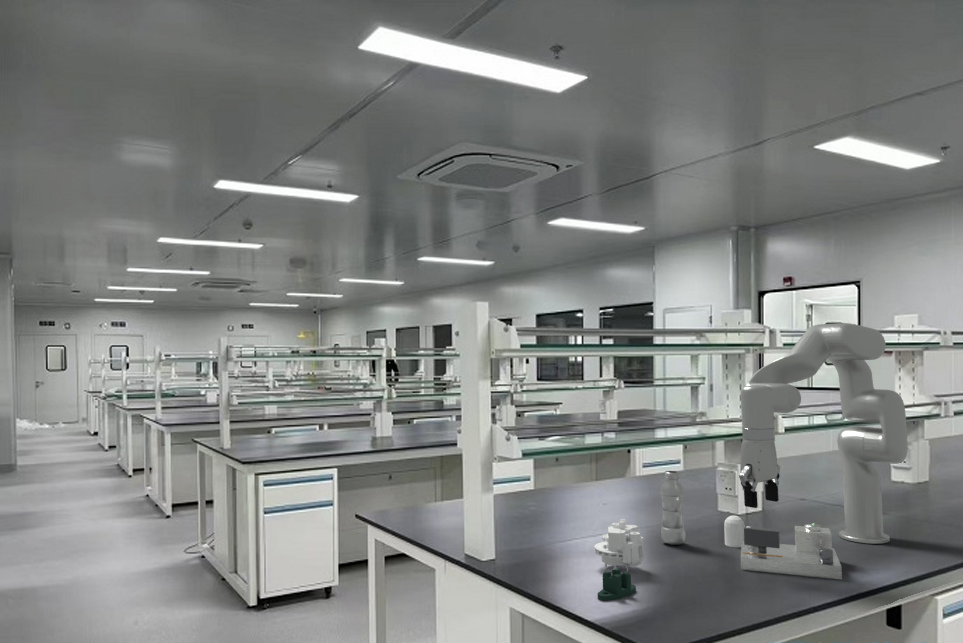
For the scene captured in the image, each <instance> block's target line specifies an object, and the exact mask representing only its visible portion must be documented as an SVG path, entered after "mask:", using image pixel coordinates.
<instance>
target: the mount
mask: <svg viewBox="0 0 963 643" xmlns="http://www.w3.org/2000/svg"><path fill="white" fill-rule="evenodd" d="M631 575H632V574H631V573H630V572H629V571H624V572H623V571H622V572H621V569H619V568H616V569H614V568H613V569H612V570H611V571H609V570H607V571H604V572H602V589H600V590H599V591H598V592H597V600H598V601H601V602H608V601H617V600H621V599H625V598H628V597H632V596H633V595H634V594H635V593H636V592H637V586H636V585H635V584H633V583H632V577H631Z"/></svg>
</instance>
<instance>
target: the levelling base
mask: <svg viewBox="0 0 963 643" xmlns="http://www.w3.org/2000/svg"><path fill="white" fill-rule="evenodd" d="M794 543H795V544H786V543H785V544H784V543H780V548H770V547H767V553H766V554H761V553H758V546H752V545H744V541H742V545H741V547H740V570H741V571H752V572H760V573H761V572H762V573H771V574H774V573H775V574H783V575H791V576H801V577H812V578H822V579H823V578H824V579H832V580H843V571H842V570H843V569H842V568H843V567H842V564H841V562H840V560H839V557H838V555H837V552H836V550H835V548H833V544H832V543H833V542H832V532H831V529H830V528H828V527H821V525H819V524H817V523H815V522H813V523H805V524H804V525H802V526H801V525H794Z"/></svg>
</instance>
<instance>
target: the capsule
mask: <svg viewBox="0 0 963 643" xmlns="http://www.w3.org/2000/svg"><path fill="white" fill-rule="evenodd" d="M745 526H746V525H745V523H744V521H743V519H742V518H741V517H740V516H738V515H729V516H728V517H726V519H725V520H724V525H723V528H724V545H725V546H727V547H730V548H741V545H742V541H744V527H745Z"/></svg>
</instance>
